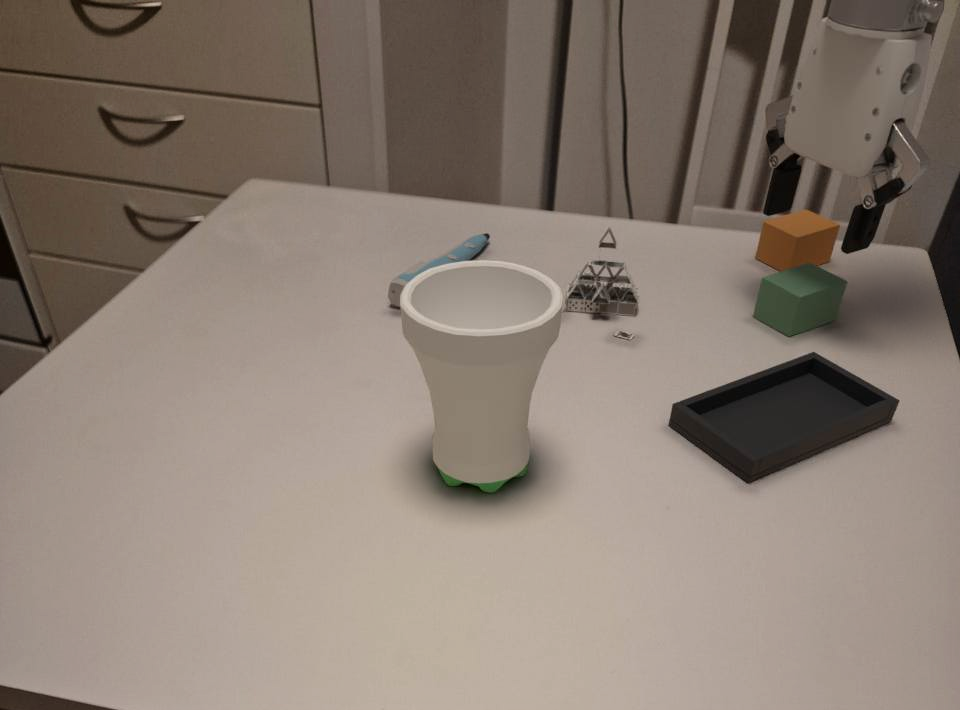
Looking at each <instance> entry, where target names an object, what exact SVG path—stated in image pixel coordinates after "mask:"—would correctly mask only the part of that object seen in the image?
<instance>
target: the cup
mask: <svg viewBox="0 0 960 710" xmlns="http://www.w3.org/2000/svg"><path fill="white" fill-rule="evenodd" d="M563 304H564V295H563V292H562V288H561V287H560V286H559V285H558V284H557V283H556V282H555V281H554V280H553V279H551V278H550V277H549V276H547V275H545V274H543V273H542V272H540V271H538V270H537V269H534V268H531V267H528V266H525V265H522V264H519V263H514V262H508V261H504V260H486V259H483V260H482V259H481V260H480V259H479V260H468V261H462V262H455V263H449V264H444V265H441V266H437V267H433V268H430V269H428V270H426V271H424V272H422V273H420V274H419V275H417V276H416V277H414V278H413V279H412V280H411V281H410V282H409V283H407V284H406V285H405V287H404V289H403V291H402V293H401V295H400V307H399V309H400V319H401V329H402V335H403V338H404V339H405V340H406V342H407V343H408V344H409V345H410V347H411V349H412V350H413V352H414V354H415V356H416V359H417V361H418V363H419V366H420V368H421V371H422V374H423V377H424V380H425V383H426V386H427V388H428V391H429V395H430V396H429V397H430V401H431V407H432V412H433V422H434V431H433V433H432V437H431V438H432V439H431V440H432V461H433V462H434V464H435V466H436V468H437V470H438V472H439V473H440V476H441V477H442V479H443V480H444V483H445V484H447V485H448V486H449V487H451V486H452V487H457V486H460V485H462V484H464V483H465V484H469V485H473V486H477V487H478V488H479V489H480V490H481V491H482V492H485V493H487V494H491V493H496V492H497V491H498V490H499V489H501V488H502V486H503V485H504V484H505V483H507V482H508V481H509V480H511V479H512V478H520V477H523V476H525V474H526V473H527V470H528V467H529V462H530V455H531V454H530V453H531V436H530V430H529V427H528V425H529V416H530V406H531V401H532V396H533V391H534V389H535V386H536V383H537V380H538V377H539V374H540V371H541V369H542V366H543V364H544V361H545V360H546V357H547V355H548V353H549V350H550V349H551V348H552V347H553V345H554V344H555V343H556V342H557V341H558V339H559V335H560V330H561V326H562V316H563V315H562V314H563V312H562V309H563Z"/></svg>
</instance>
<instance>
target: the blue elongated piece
mask: <svg viewBox="0 0 960 710" xmlns="http://www.w3.org/2000/svg"><path fill="white" fill-rule="evenodd" d="M490 238H491V236H490V234H489V233H487V232H486V233H480V234H475V235H473V236H472V237H471V236H470V237H469V238H468V239H466V240H464V241H463V242H461V243H459V244H457V245H456V246H454V247H452V248H451V249H449V250H448V251H446V252H444V253H442V254H440V255H439V256H436V257H434V258H431V259H428V260H425V261H423V260H420V261H418V262H417V263H415V264H413V265H412V266H410V267H409V268H407V269H406V270H405V271H404V272H402V273H400V274H398V275H397V276H396V277H394V278H393V279H392V281H391V282H390V284H389V287H388V292H387V297H388V300H389V302H390V303H391V304H392V306H393V305H394V307H397V308H398V307H399V308H400V295H401V293H402V291H403V289H404V287H405V285H406V284H407V283H409V282H410V281H411V280H412V279H413V278H414V277H416V276H417V275H419V274H420V273H422V272H424V271H426V270H428V269H430V268H433V267H437V266H441V265H444V264H449V263H455V262H462V261H471V259H473V257H475V256H476V255H477V254H478V253H479V252H480V251H482V249H483V248H484V247H485V246H486V245H487V244H488V242H489V239H490Z"/></svg>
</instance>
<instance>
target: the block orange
mask: <svg viewBox="0 0 960 710" xmlns="http://www.w3.org/2000/svg"><path fill="white" fill-rule="evenodd" d="M840 227H841V224H840V223H838V222H836V221H834V220H831V219H829V218H827V217H824V216H822V215H820V214H818V213H815V212H814V211H811V210H808V209H802V210H799V211H796V212H793V213H792V212H791V213H788V214H785V215H781V216H777V217H774V218H770V219H767V220H764V221H763V222H762V227H761V231H760V235H759V239H758V244H757V248H756V252H755V257H754V258H755V259H756V260H758V261H760V262H762V263H763V264H766V265H768V266H769V267H771V268H773V269H775V270H777V271H778V272H781V271H784V270H787V269H791V268H794V267H797V266H800V265H803V264H806V263H811V264H813V265H815V266H820V265H823V264H826V263H830V261H831V258H832V255H833V252H834V247H835V244H836V241H837V238H838V235H839V230H840Z"/></svg>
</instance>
